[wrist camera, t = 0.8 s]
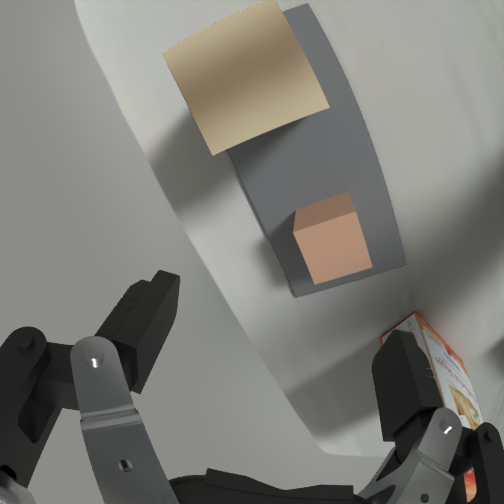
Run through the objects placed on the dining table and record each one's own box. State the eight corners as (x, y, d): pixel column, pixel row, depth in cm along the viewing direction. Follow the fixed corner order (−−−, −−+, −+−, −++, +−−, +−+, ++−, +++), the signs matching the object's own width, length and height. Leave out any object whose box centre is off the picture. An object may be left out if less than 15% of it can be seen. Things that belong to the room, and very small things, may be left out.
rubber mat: (405, 262, 28) (405, 264, 28) (296, 295, 32) (296, 297, 32) (307, 4, 19) (307, 3, 18) (183, 60, 23) (181, 59, 22)
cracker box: (464, 357, 33) (500, 488, 15) (430, 380, 36) (452, 510, 17) (417, 306, 30) (464, 480, 12) (377, 336, 33) (395, 506, 15)
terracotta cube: (363, 239, 27) (372, 267, 23) (315, 255, 29) (314, 284, 25) (348, 191, 26) (355, 211, 21) (296, 209, 27) (293, 232, 23)
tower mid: (323, 105, 17) (329, 107, 12) (239, 139, 19) (212, 155, 14) (284, 25, 15) (273, -3, 10) (201, 63, 17) (161, 53, 12)
